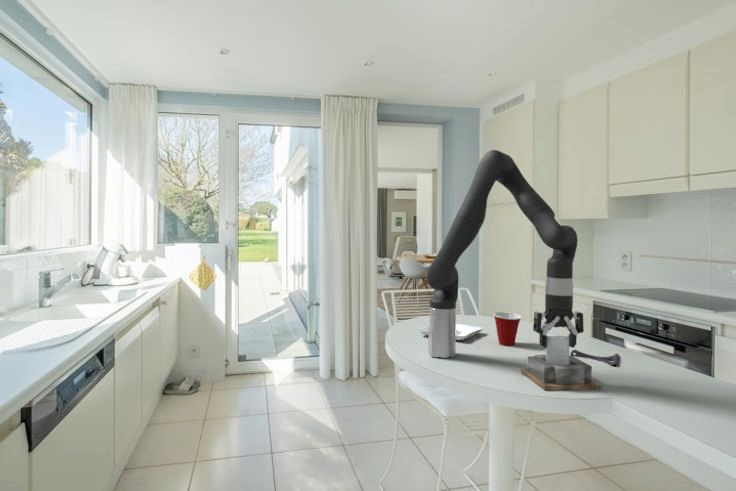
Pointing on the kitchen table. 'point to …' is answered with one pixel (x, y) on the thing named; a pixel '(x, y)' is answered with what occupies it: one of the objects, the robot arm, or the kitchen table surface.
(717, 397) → the kitchen table surface
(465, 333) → the salad plate
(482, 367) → the kitchen table surface
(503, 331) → the plastic cup
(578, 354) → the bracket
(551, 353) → the skincare box
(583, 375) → the holder
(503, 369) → the kitchen table surface
